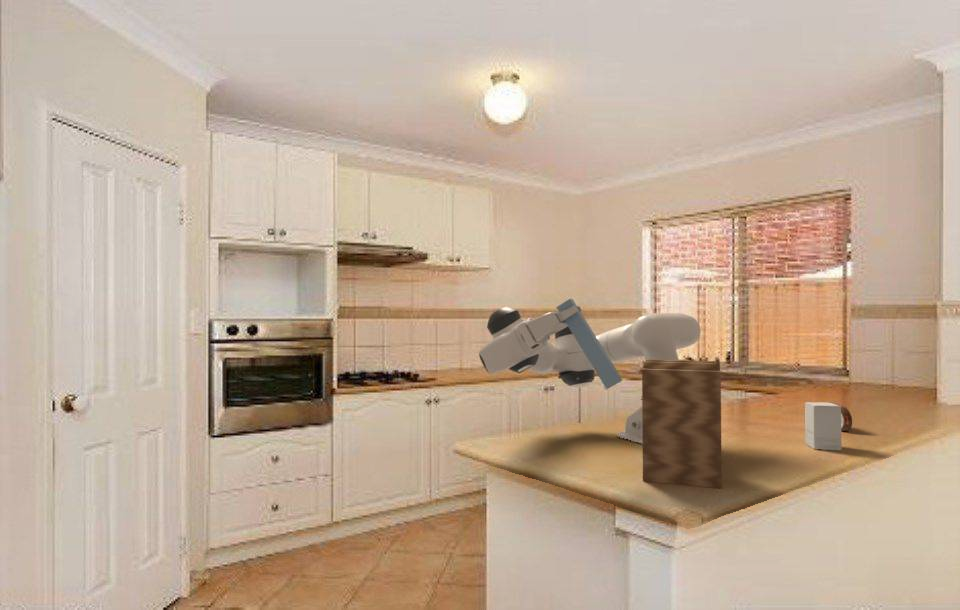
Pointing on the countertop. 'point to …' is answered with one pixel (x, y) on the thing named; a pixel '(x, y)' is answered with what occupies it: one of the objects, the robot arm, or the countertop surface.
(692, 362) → the stand
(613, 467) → the countertop surface
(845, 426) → the brown curved piece
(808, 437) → the supplement box
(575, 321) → the bar
